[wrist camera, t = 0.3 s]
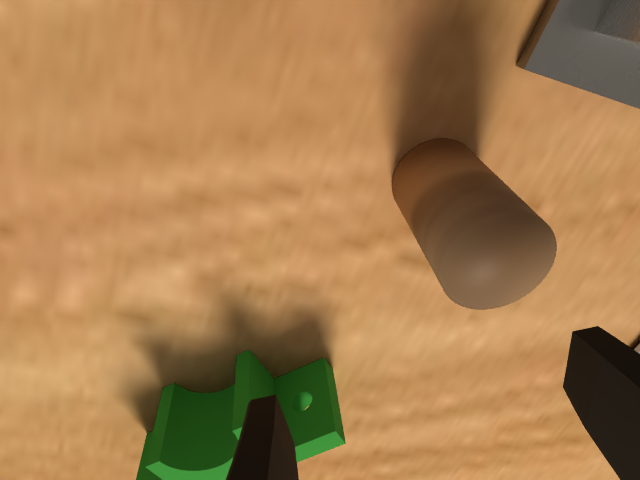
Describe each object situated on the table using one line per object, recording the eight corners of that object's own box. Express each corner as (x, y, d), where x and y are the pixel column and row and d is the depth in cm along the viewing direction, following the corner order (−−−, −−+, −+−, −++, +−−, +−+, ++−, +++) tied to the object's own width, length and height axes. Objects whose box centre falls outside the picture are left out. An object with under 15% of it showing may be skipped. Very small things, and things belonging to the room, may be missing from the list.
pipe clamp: (301, 322, 23) (310, 398, 19) (332, 366, 25) (347, 443, 21) (115, 406, 24) (89, 492, 20) (158, 441, 26) (142, 525, 22)
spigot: (492, 150, 18) (579, 226, 13) (453, 224, 20) (517, 316, 15) (412, 128, 17) (474, 201, 12) (379, 208, 19) (421, 300, 14)
